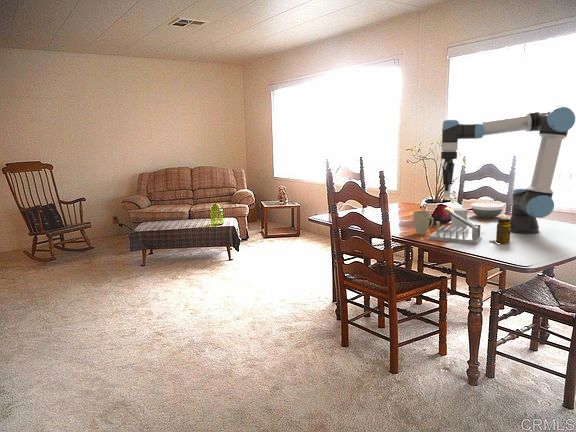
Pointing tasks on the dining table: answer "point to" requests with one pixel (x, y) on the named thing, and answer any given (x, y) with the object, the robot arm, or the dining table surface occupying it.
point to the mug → (422, 221)
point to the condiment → (503, 232)
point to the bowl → (487, 209)
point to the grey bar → (459, 217)
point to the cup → (456, 222)
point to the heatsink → (456, 234)
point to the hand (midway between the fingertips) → (446, 197)
